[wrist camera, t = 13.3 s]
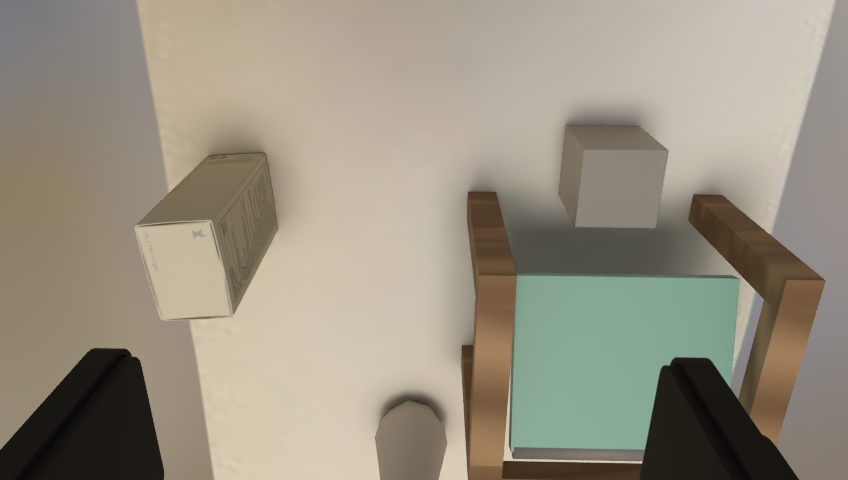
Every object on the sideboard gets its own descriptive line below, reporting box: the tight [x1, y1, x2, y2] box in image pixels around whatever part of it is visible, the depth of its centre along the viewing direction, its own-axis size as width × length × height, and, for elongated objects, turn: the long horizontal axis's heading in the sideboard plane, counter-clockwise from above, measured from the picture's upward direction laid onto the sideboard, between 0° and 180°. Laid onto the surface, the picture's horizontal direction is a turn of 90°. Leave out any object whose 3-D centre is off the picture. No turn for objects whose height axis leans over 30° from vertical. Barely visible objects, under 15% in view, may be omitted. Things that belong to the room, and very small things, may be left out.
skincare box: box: [135, 153, 278, 321], centre depth 40 cm, size 6×4×12 cm
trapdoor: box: [509, 272, 740, 461], centre depth 38 cm, size 12×13×1 cm
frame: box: [461, 192, 825, 480], centre depth 42 cm, size 15×18×13 cm
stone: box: [558, 125, 669, 228], centre depth 41 cm, size 5×5×6 cm
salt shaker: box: [375, 400, 447, 480], centre depth 47 cm, size 6×6×13 cm
